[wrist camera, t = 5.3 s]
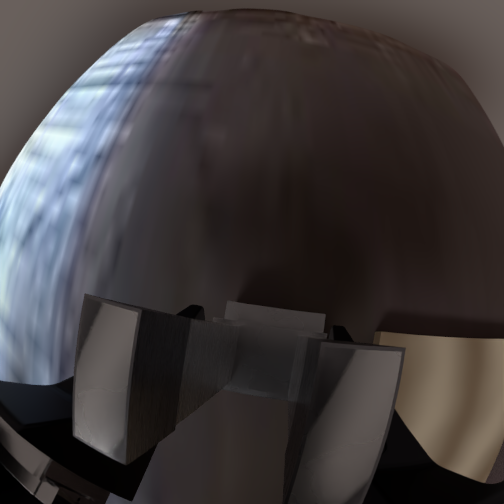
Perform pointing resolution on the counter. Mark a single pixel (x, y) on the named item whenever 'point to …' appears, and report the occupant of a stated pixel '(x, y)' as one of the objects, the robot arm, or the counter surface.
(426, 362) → the plate
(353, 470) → the two-prong grey stand
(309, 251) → the counter surface
